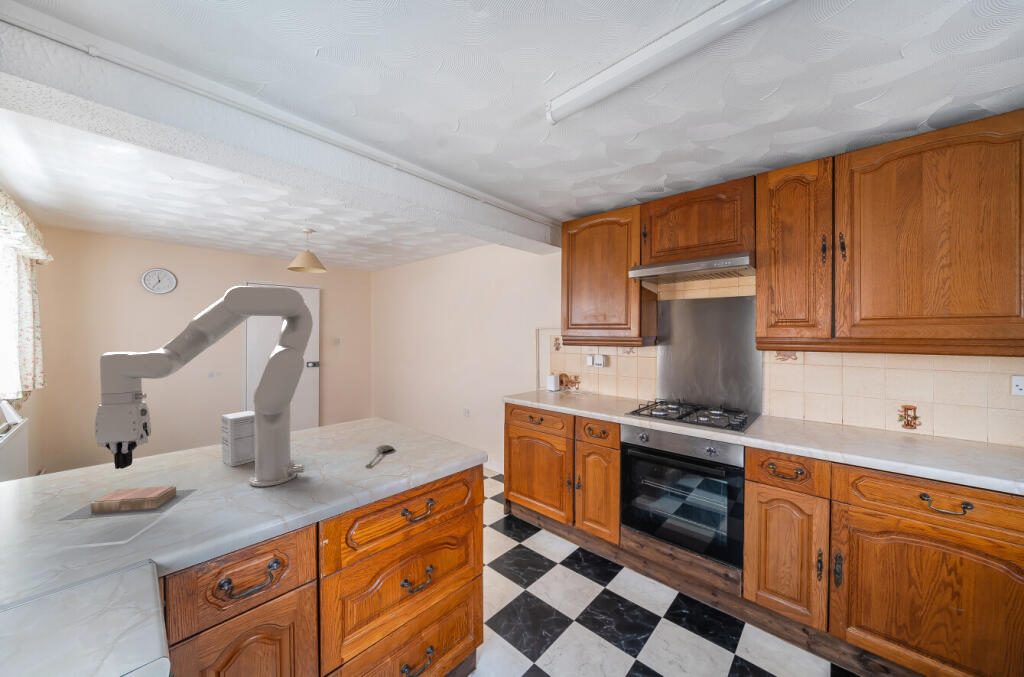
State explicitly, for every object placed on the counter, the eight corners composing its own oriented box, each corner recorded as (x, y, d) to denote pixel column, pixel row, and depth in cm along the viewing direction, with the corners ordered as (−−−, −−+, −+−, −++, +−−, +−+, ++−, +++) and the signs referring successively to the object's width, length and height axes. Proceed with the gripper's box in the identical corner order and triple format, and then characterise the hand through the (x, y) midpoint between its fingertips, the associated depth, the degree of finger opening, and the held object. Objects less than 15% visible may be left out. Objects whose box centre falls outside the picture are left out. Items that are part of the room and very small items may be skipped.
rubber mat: (197, 490, 109) (197, 489, 109) (162, 514, 96) (162, 512, 96) (107, 496, 105) (107, 495, 105) (58, 522, 91) (58, 520, 91)
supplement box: (251, 454, 141) (251, 410, 140) (262, 459, 136) (261, 413, 135) (221, 461, 133) (220, 414, 133) (230, 467, 128) (230, 418, 127)
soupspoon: (396, 450, 150) (380, 451, 150) (396, 442, 150) (379, 442, 150) (377, 468, 128) (357, 469, 128) (376, 459, 128) (357, 459, 128)
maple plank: (117, 498, 103) (176, 494, 106) (91, 512, 95) (155, 507, 98) (117, 489, 103) (176, 485, 106) (90, 502, 95) (155, 497, 98)
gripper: (164, 395, 104) (166, 460, 105) (100, 396, 101) (102, 463, 102) (144, 400, 97) (145, 470, 97) (74, 402, 94) (76, 474, 95)
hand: (123, 466), depth 100 cm, fingers closed
